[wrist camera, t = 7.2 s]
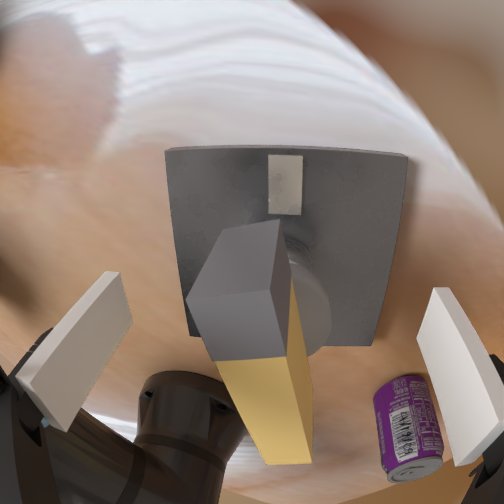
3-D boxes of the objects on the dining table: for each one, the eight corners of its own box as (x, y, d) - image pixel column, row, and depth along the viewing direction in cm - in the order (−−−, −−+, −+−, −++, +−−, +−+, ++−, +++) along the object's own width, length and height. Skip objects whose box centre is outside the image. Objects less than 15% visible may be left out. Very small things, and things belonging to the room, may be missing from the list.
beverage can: (364, 404, 35) (371, 486, 24) (386, 369, 31) (403, 460, 21) (410, 406, 34) (424, 481, 24) (435, 372, 31) (460, 453, 20)
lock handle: (254, 375, 23) (238, 464, 16) (201, 221, 18) (143, 304, 11) (336, 367, 22) (341, 461, 15) (313, 200, 16) (325, 281, 9)
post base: (368, 336, 29) (380, 390, 23) (193, 326, 32) (172, 376, 25) (401, 153, 21) (439, 175, 15) (171, 147, 23) (129, 166, 17)
